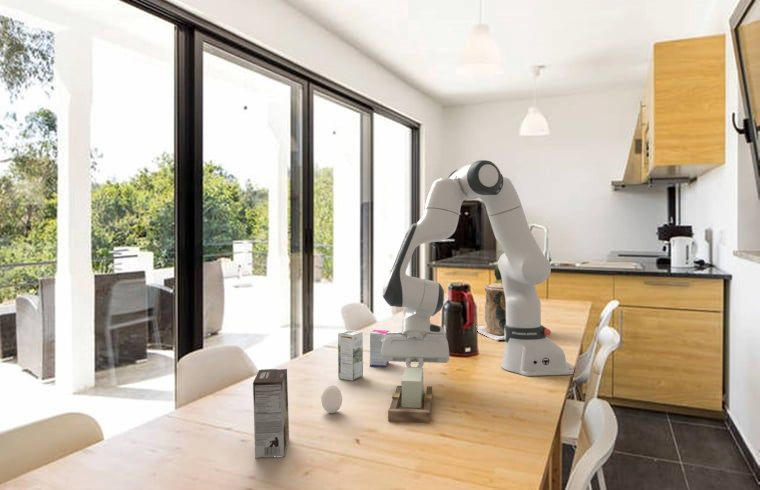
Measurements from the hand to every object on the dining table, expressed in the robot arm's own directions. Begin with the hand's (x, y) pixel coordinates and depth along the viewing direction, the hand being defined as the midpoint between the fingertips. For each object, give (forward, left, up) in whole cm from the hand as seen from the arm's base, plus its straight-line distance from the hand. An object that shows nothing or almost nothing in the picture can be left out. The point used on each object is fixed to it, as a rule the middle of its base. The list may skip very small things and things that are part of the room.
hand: (414, 374), depth 139 cm
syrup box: (+21, -11, -5) cm, 24 cm away
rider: (0, +7, -5) cm, 8 cm away
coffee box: (+28, +39, -5) cm, 48 cm away
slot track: (0, +11, -5) cm, 12 cm away
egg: (+20, +18, -5) cm, 27 cm away
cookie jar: (-35, -78, -5) cm, 85 cm away
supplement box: (+14, -26, -5) cm, 30 cm away
